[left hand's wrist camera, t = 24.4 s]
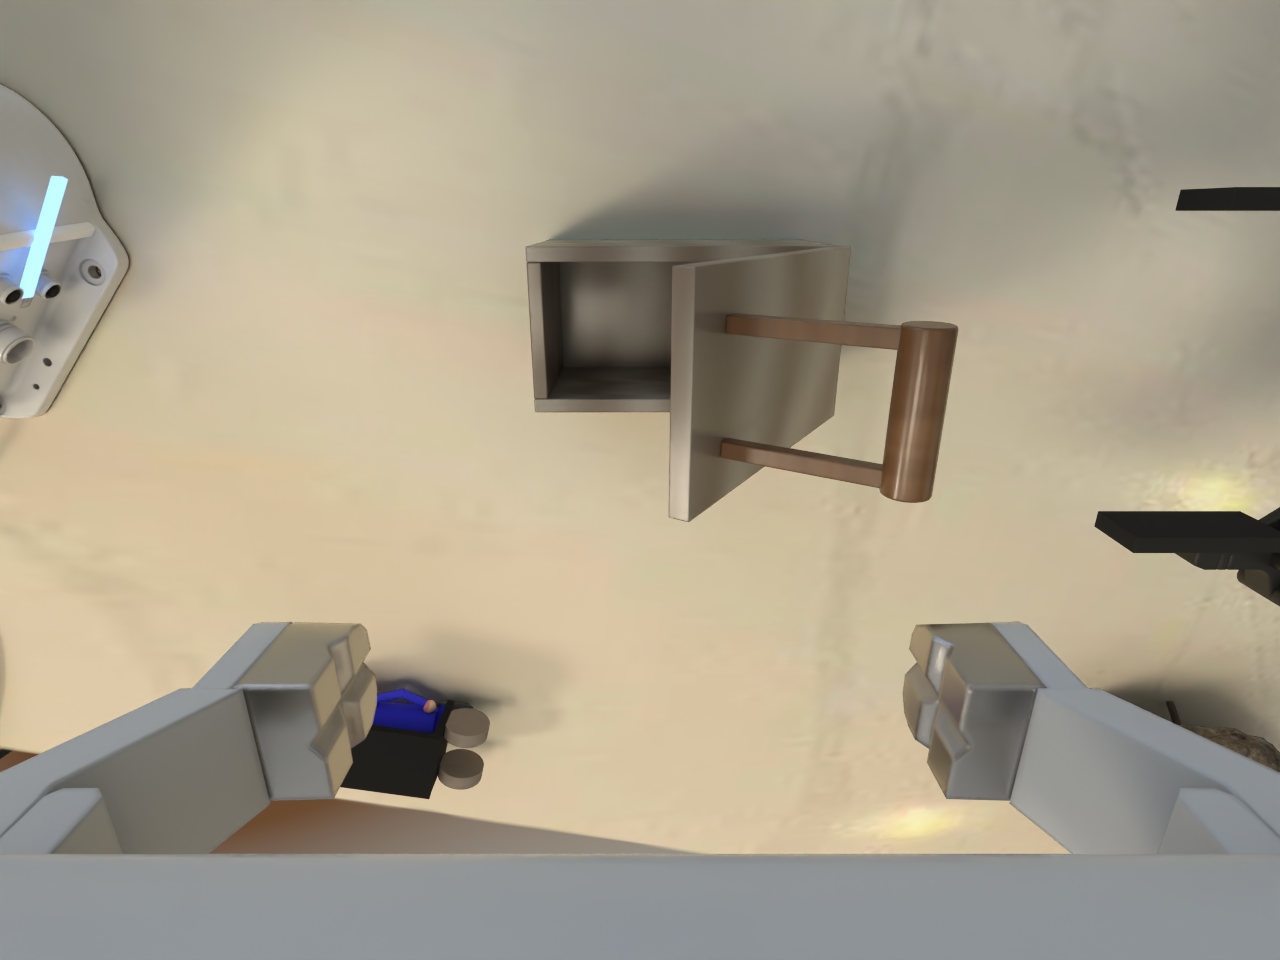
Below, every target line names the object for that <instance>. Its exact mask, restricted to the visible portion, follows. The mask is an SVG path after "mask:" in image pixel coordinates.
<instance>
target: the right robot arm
mask: <svg viewBox="0 0 1280 960" xmlns="http://www.w3.org/2000/svg"><path fill="white" fill-rule="evenodd" d="M1175 211H1280V187H1232V188H1210V189H1188V190H1181V191H1180V195H1179V199H1178V203H1177V207H1176V210H1175ZM1095 527H1096V528H1098V529H1099V530H1101V531H1102V532H1104V533H1105V534H1106V535H1108V536H1109V537H1111V538H1112V539H1114V540H1115V541H1117V542H1118V543H1120V544H1121V545H1123V546H1124V547H1125V548H1127V549H1128V550H1130V551H1131V552H1133V553H1175V554H1177V555H1179V556H1180V557H1182V558H1183V559H1185V560H1186V561H1188V562H1190V563H1191V564H1193V565H1194V566H1197V567H1199V568H1202V569H1204V570H1216V569H1219V570H1226V569H1228V570H1239V571H1238V573H1237V579H1238V581H1239V582H1241V583H1243V584H1244V585H1246V586H1247V587H1249V588H1250V589H1252V590H1254V591H1255V592H1257V593H1259V594H1260V595H1262V596H1264V597H1265V598H1267V599H1268V600H1270V601H1272V602H1273V603H1275V604H1277V605H1279V606H1280V507H1279V508H1278V509H1276V510H1274V511H1273V512H1271V513H1270V514H1268V515H1266V516H1265V517H1263V518H1261V519H1260V520H1256V519H1254V518H1252V517H1250V516H1248V515H1246V514H1244V513H1242V512H1240V511H1098V515H1097V519H1096V523H1095Z"/></svg>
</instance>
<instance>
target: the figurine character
mask: <svg viewBox="0 0 1280 960" xmlns="http://www.w3.org/2000/svg"><path fill="white" fill-rule="evenodd" d="M399 698H403V699H405V700H407V701H409V702H412V703H414V704H406V703H396V702H386V701H390V700H395V699H399ZM438 707H440V708H439V709H438ZM471 708H473V707H472V706H470V705H469V704H467V703H456V702H455V701H451V700H448V701H447V702H446V701H440V702H437V703H435V702H434V701H433V700H427V699H425V698H422V697H420V696H418V695H416V694H414V693H412V692H410V691H407V690H405V689H400V690H396V691H391V692H387V693H382V694H378V693H377V706H376V710H375V715H374V719H373V724H372V726H371V728H370V730H369V732H368V734H367V736H366V738H365V740H363V741H362V742H360V743H359V744H357V745H356V746H354V747H353V748H351V754H352V759H353V763H352V765H351V767H350V769H349V771H348V773H347V775H346V776H345V778H344V780H343V782H342V784H341V786H340V787H344V788H351V789H359V790H366V791H373V792H381V793H388V794H395V795H403V796H410V797H417V798H425V799H429V798H430V794H431V791H432V789H433V786H434V783H435V781H436V778H437V776H438V778H439V780H440V781H441V782H442V783H443V784H444V785H445V786H447V787H450V788H453V789H468V788H471V787H473V786H475V785H476V784H478V783H479V781H480V780H481V776H482V771H483V766H484V763H483V760H482V758H481V757H480V756H479V755H478V754H477V753H475V752H473V751H470V750H466V749H456V750H451V751H449V752H447V753H446V747H447V742H449V743H450V744H452V745H454V746H457V747H462V748H471V747H476V746H479V745H481V744H482V743H483V742H484V741H485V740H486V739H487V735H488V730H489V725H490V722H489V719H488V717H487V716H486V715H485V714H484V713H482V712H480V711H478V710H475V709H471ZM437 709H438V711H437ZM453 709H456V710H453Z"/></svg>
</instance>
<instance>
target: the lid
mask: <svg viewBox="0 0 1280 960" xmlns="http://www.w3.org/2000/svg"><path fill="white" fill-rule="evenodd" d="M850 253H851V247H843V246H834V247H825V248H817V249H809V250H800V251H792V252H783V253H775V254H767V255H758V256H750V257H741V258H733V259H725V260H716V261H708V262H699V263H691V264H683V265H674V266H673V267H672V330H671V398H670V466H669V517H670V518H674V519H678V520H682V521H686V522H690V521H691V520H692V519H694V518H695V517H696V516H698V515H699V514H701V513H702V512H703V511H705V510H706V509H707V508H709V507H710V506H711V505H713V504H714V503H715V502H717V501H718V500H720V499H721V498H722V497H724V496H725V495H726V494H728V493H729V492H730V491H732V490H733V489H735V488H736V487H737V486H739V485H740V484H741V483H743V482H744V481H745V480H747V479H748V478H749V477H751V476H752V475H754V474H755V473H756V472H758V471H759V470H760V469H762V468H763V467H764V466H767V467H772V468H777V469H782V470H788V471H793V472H798V473H803V474H809V475H814V476H819V477H824V478H830V479H835V480H840V481H845V482H851V483H856V484H861V485H866V486H872V487H877V488H879V489H880V492H881V494H882V495H884V496H885V497H887V498H890V499H893V500H896V501H901V502H909V503H917V502H924V501H927V500H929V499H930V498H931V496H932V492H933V485H934V479H935V473H936V467H937V460H938V454H939V448H940V441H941V435H942V429H943V423H944V416H945V410H946V404H947V398H948V391H949V385H950V379H951V373H952V366H953V360H954V354H955V348H956V341H957V335H958V326H956V325H954V324H950V323H944V322H933V321H910V322H905V323H902V325H901V326H897V325H884V324H871V323H858V322H845V321H844V312H845V302H846V292H847V282H848V272H849V262H850ZM841 345H851V346H862V347H872V348H883V349H894V350H897V358H896V366H895V373H894V381H893V389H892V396H891V404H890V412H889V419H888V427H887V435H886V442H885V450H884V458H883V464H877V463H871V462H865V461H860V460H854V459H848V458H842V457H837V456H831V455H825V454H819V453H814V452H808V451H802V450H796V449H791V448H790V447H792V446H793V445H794V444H796V443H797V442H798V441H800V440H801V439H802V438H804V437H805V436H807V435H808V434H809V433H811V432H812V431H813V430H815V429H816V428H817V427H819V426H820V425H822V424H823V423H824V422H826V421H827V420H828V419H830V418H831V417H832V416H834V410H835V401H836V391H837V381H838V371H839V361H840V351H841Z"/></svg>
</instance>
